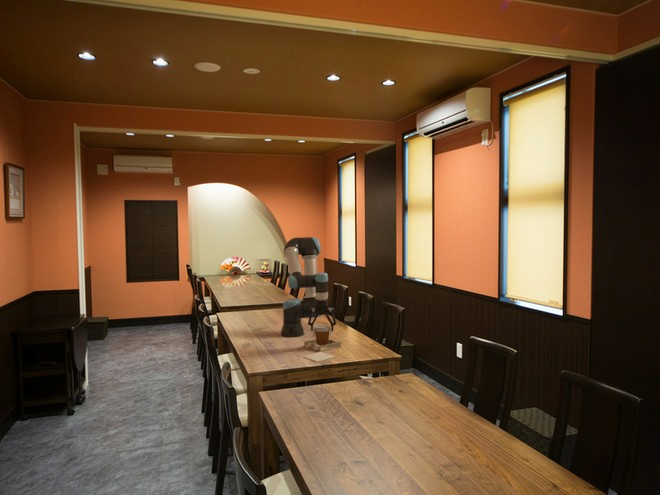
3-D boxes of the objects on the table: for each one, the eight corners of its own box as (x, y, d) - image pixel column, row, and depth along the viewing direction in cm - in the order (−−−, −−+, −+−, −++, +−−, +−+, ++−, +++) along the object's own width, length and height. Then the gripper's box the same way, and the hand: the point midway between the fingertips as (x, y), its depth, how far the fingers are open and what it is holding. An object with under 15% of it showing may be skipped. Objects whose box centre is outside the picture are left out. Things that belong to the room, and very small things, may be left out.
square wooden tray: (304, 346, 279) (304, 341, 279) (324, 342, 289) (324, 337, 289) (320, 351, 267) (320, 346, 267) (340, 346, 277) (340, 341, 277)
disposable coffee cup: (328, 349, 272) (328, 328, 272) (312, 348, 274) (312, 328, 274) (331, 345, 282) (331, 325, 281) (316, 344, 284) (316, 324, 283)
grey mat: (302, 356, 258) (302, 356, 258) (320, 352, 266) (320, 351, 266) (317, 362, 248) (317, 361, 248) (335, 357, 256) (335, 356, 256)
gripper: (302, 300, 273) (303, 338, 275) (340, 300, 272) (340, 338, 273) (303, 298, 281) (304, 335, 282) (340, 298, 279) (341, 335, 281)
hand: (322, 336), depth 278 cm, fingers closed on disposable coffee cup, 9 cm apart
